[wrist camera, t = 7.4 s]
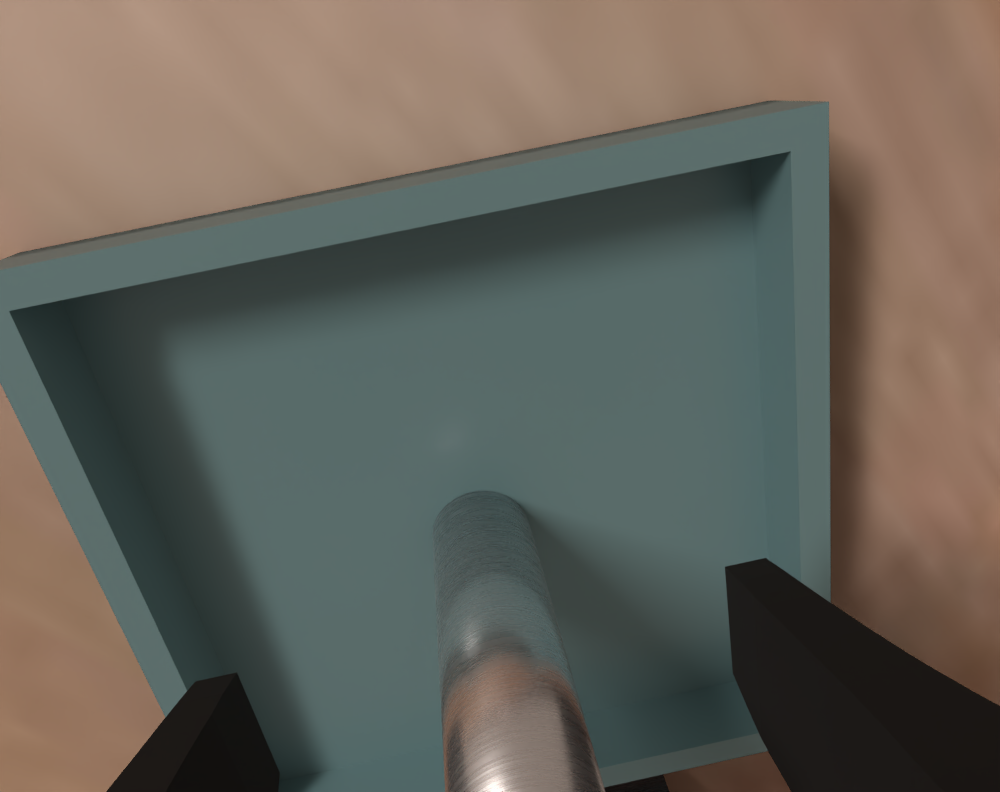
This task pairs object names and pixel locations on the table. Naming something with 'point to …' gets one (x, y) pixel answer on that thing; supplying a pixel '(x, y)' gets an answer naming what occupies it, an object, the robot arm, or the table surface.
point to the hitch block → (641, 785)
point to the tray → (450, 429)
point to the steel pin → (503, 658)
